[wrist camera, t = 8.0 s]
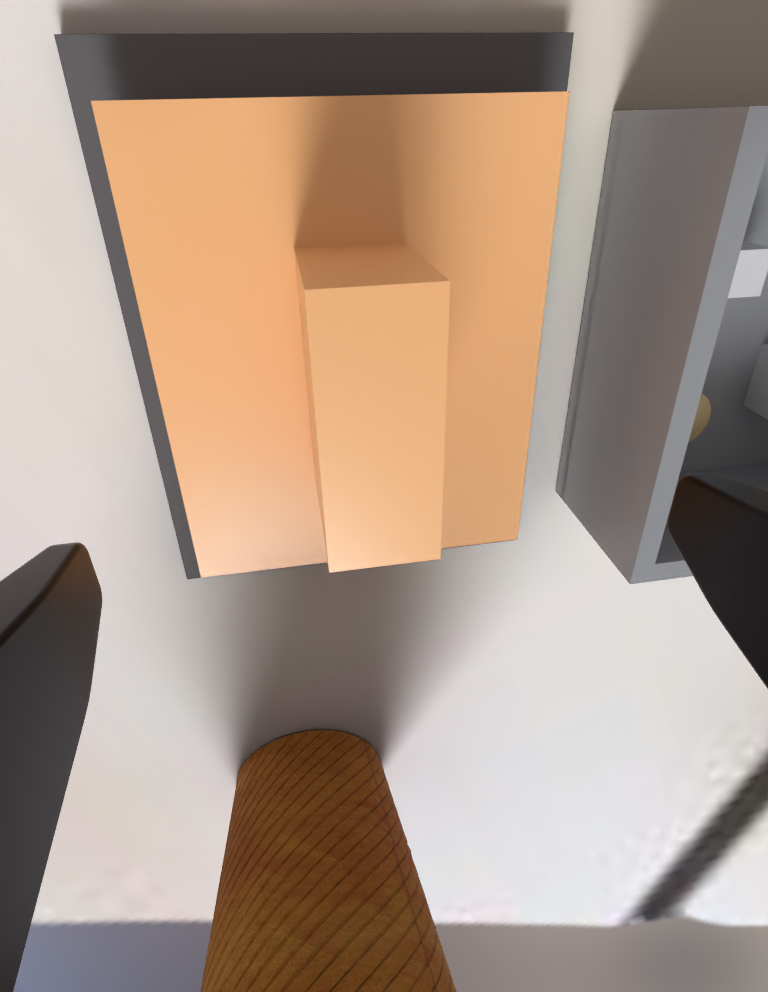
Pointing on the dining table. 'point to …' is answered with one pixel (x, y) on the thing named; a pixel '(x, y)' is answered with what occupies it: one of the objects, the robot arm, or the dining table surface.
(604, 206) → the tub
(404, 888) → the disposable coffee cup
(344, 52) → the mat
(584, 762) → the dining table surface
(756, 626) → the robot arm
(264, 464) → the lid
